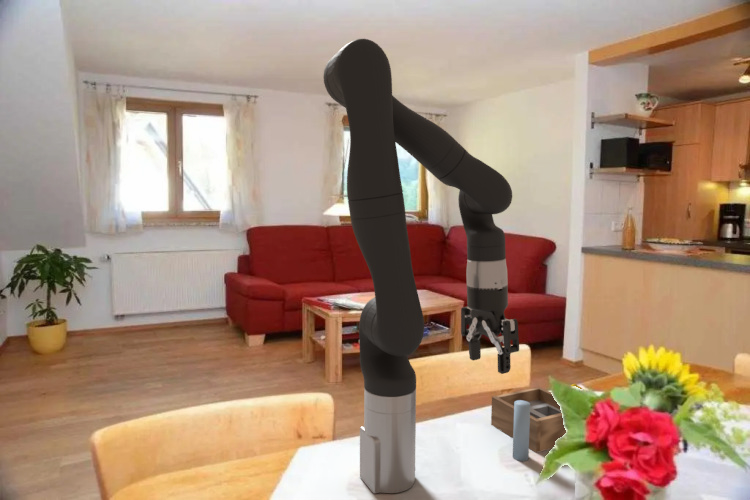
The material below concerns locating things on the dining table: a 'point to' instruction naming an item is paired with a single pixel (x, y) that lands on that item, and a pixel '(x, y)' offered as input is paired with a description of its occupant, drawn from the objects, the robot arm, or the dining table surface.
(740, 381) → the dining table surface
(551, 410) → the crate
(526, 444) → the dowel
